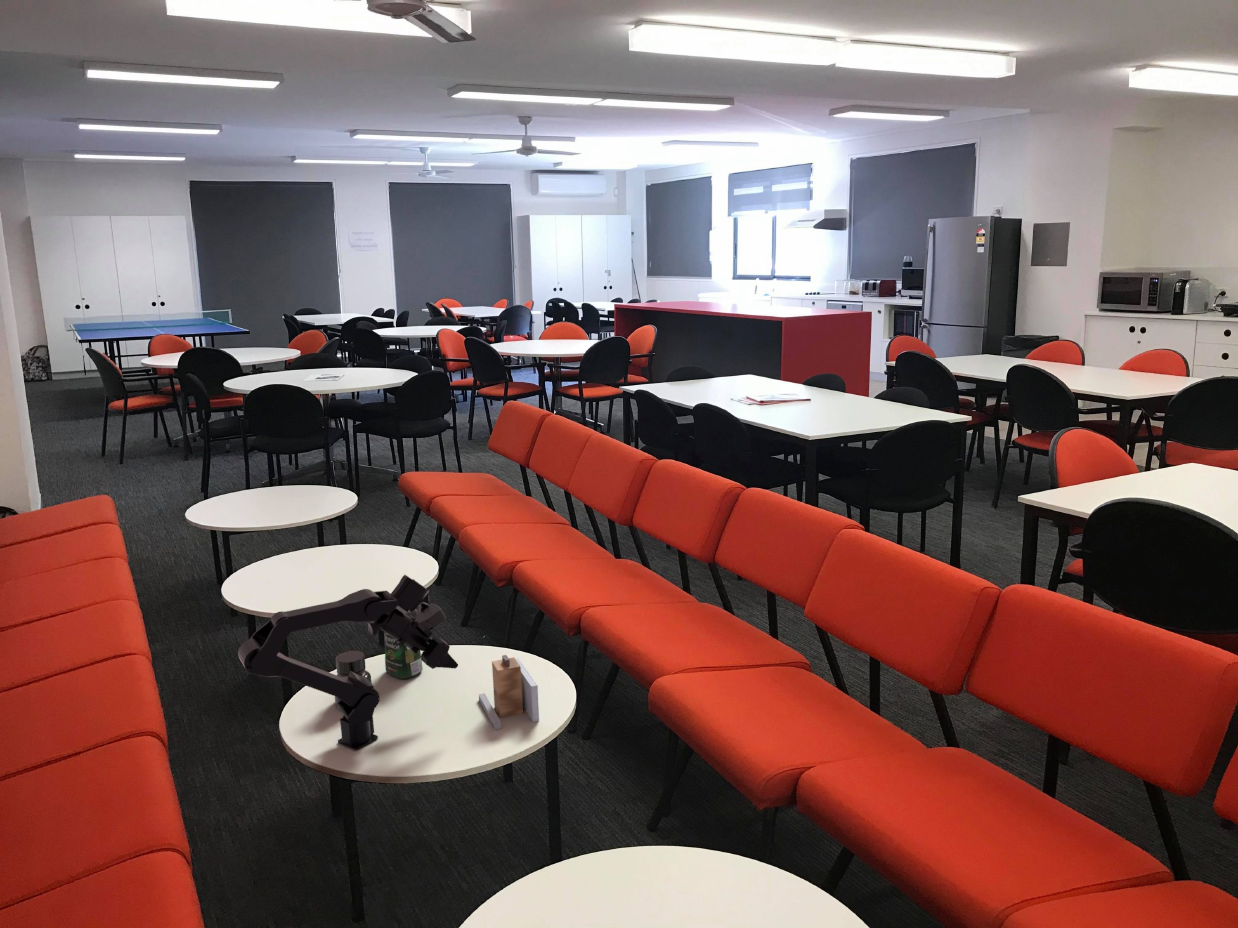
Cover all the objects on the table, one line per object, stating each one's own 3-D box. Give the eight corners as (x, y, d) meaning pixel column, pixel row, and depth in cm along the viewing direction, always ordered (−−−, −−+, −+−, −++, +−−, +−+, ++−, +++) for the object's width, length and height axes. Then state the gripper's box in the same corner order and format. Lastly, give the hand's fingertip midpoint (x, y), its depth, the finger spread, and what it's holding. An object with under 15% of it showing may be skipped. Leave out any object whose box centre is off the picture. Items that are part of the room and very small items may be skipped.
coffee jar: (380, 672, 245) (374, 606, 241) (405, 662, 251) (400, 597, 246) (403, 682, 239) (397, 614, 234) (428, 672, 244) (423, 605, 240)
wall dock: (495, 729, 214) (493, 693, 212) (479, 699, 228) (476, 665, 226) (539, 720, 218) (537, 685, 216) (520, 691, 232) (518, 658, 230)
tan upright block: (500, 717, 220) (497, 664, 217) (494, 707, 225) (491, 655, 222) (522, 712, 222) (520, 659, 219) (516, 702, 227) (513, 650, 224)
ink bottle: (381, 697, 231) (377, 652, 228) (356, 713, 223) (352, 667, 221) (351, 690, 235) (347, 646, 233) (326, 705, 228) (321, 660, 225)
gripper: (438, 609, 205) (486, 644, 214) (408, 585, 221) (454, 619, 229) (406, 651, 203) (456, 685, 211) (378, 624, 218) (426, 656, 227)
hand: (449, 659), depth 220 cm, fingers open, 9 cm apart
